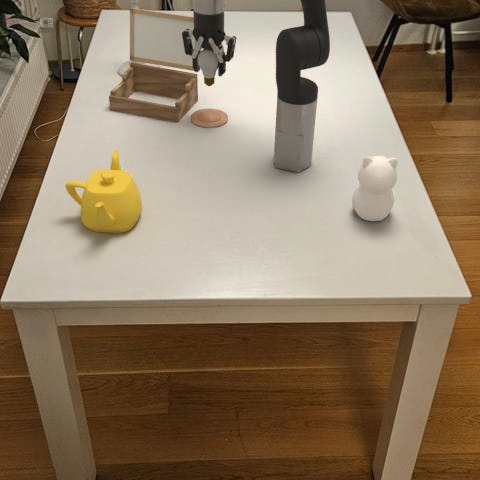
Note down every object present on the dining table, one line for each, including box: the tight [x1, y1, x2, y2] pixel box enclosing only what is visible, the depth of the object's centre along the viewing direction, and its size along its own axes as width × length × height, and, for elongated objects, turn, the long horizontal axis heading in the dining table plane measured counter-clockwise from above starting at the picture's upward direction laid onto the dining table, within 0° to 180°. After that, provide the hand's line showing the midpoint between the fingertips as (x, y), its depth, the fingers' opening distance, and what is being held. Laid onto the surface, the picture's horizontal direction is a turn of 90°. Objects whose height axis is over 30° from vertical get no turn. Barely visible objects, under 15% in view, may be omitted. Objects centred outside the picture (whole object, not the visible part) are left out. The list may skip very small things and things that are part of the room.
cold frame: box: [108, 63, 199, 123], centre depth 192 cm, size 14×20×8 cm
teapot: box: [65, 149, 143, 234], centre depth 148 cm, size 22×16×11 cm
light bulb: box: [197, 49, 219, 87], centre depth 179 cm, size 6×6×10 cm
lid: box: [129, 7, 197, 72], centre depth 191 cm, size 14×20×1 cm
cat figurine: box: [351, 155, 398, 222], centre depth 151 cm, size 9×12×15 cm
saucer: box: [189, 108, 229, 129], centre depth 188 cm, size 10×10×1 cm
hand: (209, 72), depth 180 cm, fingers closed on light bulb, 6 cm apart
